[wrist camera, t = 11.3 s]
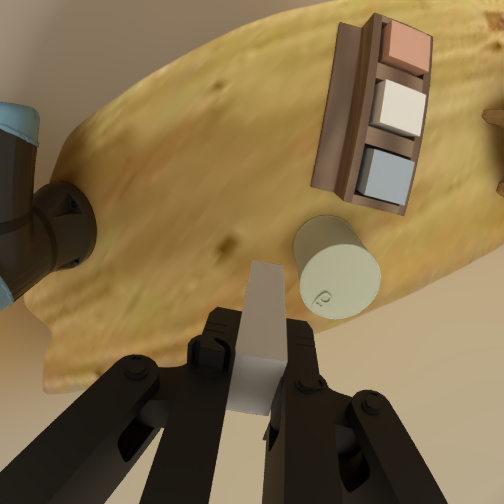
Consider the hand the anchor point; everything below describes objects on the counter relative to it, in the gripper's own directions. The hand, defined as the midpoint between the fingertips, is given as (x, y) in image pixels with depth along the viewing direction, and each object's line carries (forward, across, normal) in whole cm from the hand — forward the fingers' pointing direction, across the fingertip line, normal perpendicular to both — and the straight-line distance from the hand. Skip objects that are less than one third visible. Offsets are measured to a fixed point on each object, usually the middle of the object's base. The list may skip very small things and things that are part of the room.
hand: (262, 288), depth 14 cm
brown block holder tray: (+26, +12, +14) cm, 32 cm away
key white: (+24, +12, +14) cm, 30 cm away
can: (+27, +9, -6) cm, 29 cm away
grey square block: (+24, +12, +6) cm, 27 cm away
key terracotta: (+24, +12, +22) cm, 34 cm away
